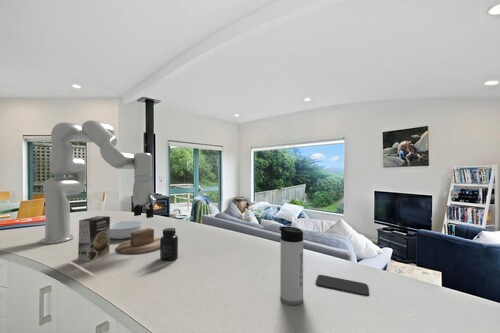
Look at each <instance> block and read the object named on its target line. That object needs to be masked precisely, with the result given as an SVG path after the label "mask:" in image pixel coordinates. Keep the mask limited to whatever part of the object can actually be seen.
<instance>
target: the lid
mask: <svg viewBox="0 0 500 333" xmlns="http://www.w3.org/2000/svg"><path fill="white" fill-rule="evenodd" d="M160 239H161V237H155V229H153V228H150V227H148V228H143V229H141V230H139V231H134V232H131V236H130V238H129V240H126V241H123V242H121V243H119V244H118V245H117V251H118V252H120V253H124V254H140V253H146V254H148V253H147V252H151V251H155V250H158V249H160ZM158 251H159V250H158ZM155 252H156V251H155ZM151 253H152V252H151ZM140 255H141V254H140Z"/></svg>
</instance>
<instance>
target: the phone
mask: <svg viewBox="0 0 500 333" xmlns="http://www.w3.org/2000/svg"><path fill="white" fill-rule="evenodd" d="M315 285H316V286H317V287H321V288H325V289H330V290H334V291H335V290H336V291H340V292H343V293H348V294H349V293H350V294H355V295H358V296H359V295H360V296H364V297H368V296H369V295H370V293H369V291H370V290H369V285H368V284H367V283H365V282H362V281H361V282H360V281H354V280H349V279H345V278H339V277H335V276H334V277H333V276H331V275H326V274H325V275H324V274H318V275H317V276H316V281H315Z"/></svg>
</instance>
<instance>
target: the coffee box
mask: <svg viewBox="0 0 500 333" xmlns="http://www.w3.org/2000/svg"><path fill="white" fill-rule="evenodd" d="M110 224H111V216H108V215H107V216H106V215H105V216H104V215H103V216H101V215H100V216H99V215H97V216H92V217H89V218H84V219H80V220H79V221H78V248H77V251H78V252H77V260H78V261H83V262H92V261H96V260H98V259H99V258H103V257H105V256H106V255H109V254H110V242H111V241H110V239H111V238H110Z"/></svg>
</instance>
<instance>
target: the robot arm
mask: <svg viewBox="0 0 500 333" xmlns="http://www.w3.org/2000/svg"><path fill="white" fill-rule="evenodd" d="M50 138H51V139H50V140H51V151H50V152H51V153H50V162H49V171H50V173H52V174H53V175H56V176H58V175H59V176H60V177H52V178H48V179H47V180H45V181H44V183H43V185H42V191H43V195H44V202H45V203H44V204H45V206H44V207H45V211H44V212H45V213H44V214H45V216H44V220H45V223H44V238H42V239H41V240H40V243H41V244H43V245H52V244H54V245H55V244H59V243H64V242H68V241H70V240H73V239H74V235H73V234H70V231H71V230H70V229H71V228H70V224H71V223H70V222H71V220H70V219H71V204H70V201H69V199H68V198H67V196H73V195H80V194H81V193H82V192H83V191H84V189H85V187H86V186H85V184H86V177H87V176H86V175H87V170H88V168H87V163H86V161H85V160H84V159H83V158H81V157H77V156H74V146H73V144H72V142H71V141H74V142H81V143H89V144H90V143H94V144H95V145H96V146H97V147H98V148H99V153H100V155H101V157H102V159H103V160H104V161H105V162H106V163H107V164H108V165H109V166H111V167H112V168H114V169H118V170H125V169H126V170H133V173H134V175H133V176H134V179H133V180H134V182H133V188H132V197H131V199H132V200H131V201H132V205H133V206H132V207H133V216H134V217H137V216H142V206H144V205H145V207H146V211H145V214H146V215H145V216H146V219H151V218H154V208H155V205H156V202H157V199H156V198H155V197H154V188H153V156H152V153H149V152H137V153H132V152H131V153H130V152H124V151H122V152H121V151H120V150H118V148H116V147H115V146H116V145H117V142H118V139H117V137H116V136H115V130H114V127H113V126H112V125H111V124H109V123H105V122H101V121H97V120H92V119H91V120H86V121H84V122H83V123H82V124H77V123H72V122H59V123H57V124H55V125H54V126H53V128H52V129H51V133H50ZM61 176H62V177H61ZM63 176H64V177H63ZM65 176H67V177H65Z"/></svg>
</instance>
